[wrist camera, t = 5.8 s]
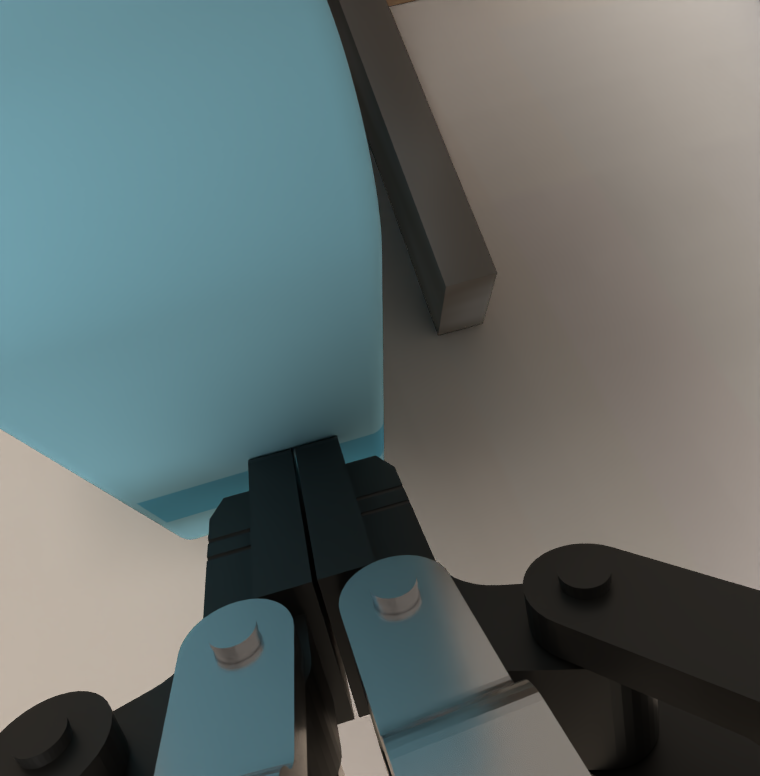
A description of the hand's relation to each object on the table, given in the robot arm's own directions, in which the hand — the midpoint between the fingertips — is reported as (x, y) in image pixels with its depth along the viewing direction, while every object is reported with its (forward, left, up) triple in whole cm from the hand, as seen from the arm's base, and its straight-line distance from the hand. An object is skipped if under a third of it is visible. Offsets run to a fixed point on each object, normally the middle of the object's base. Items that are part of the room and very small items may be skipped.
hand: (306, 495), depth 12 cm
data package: (-1, +7, -5) cm, 8 cm away
